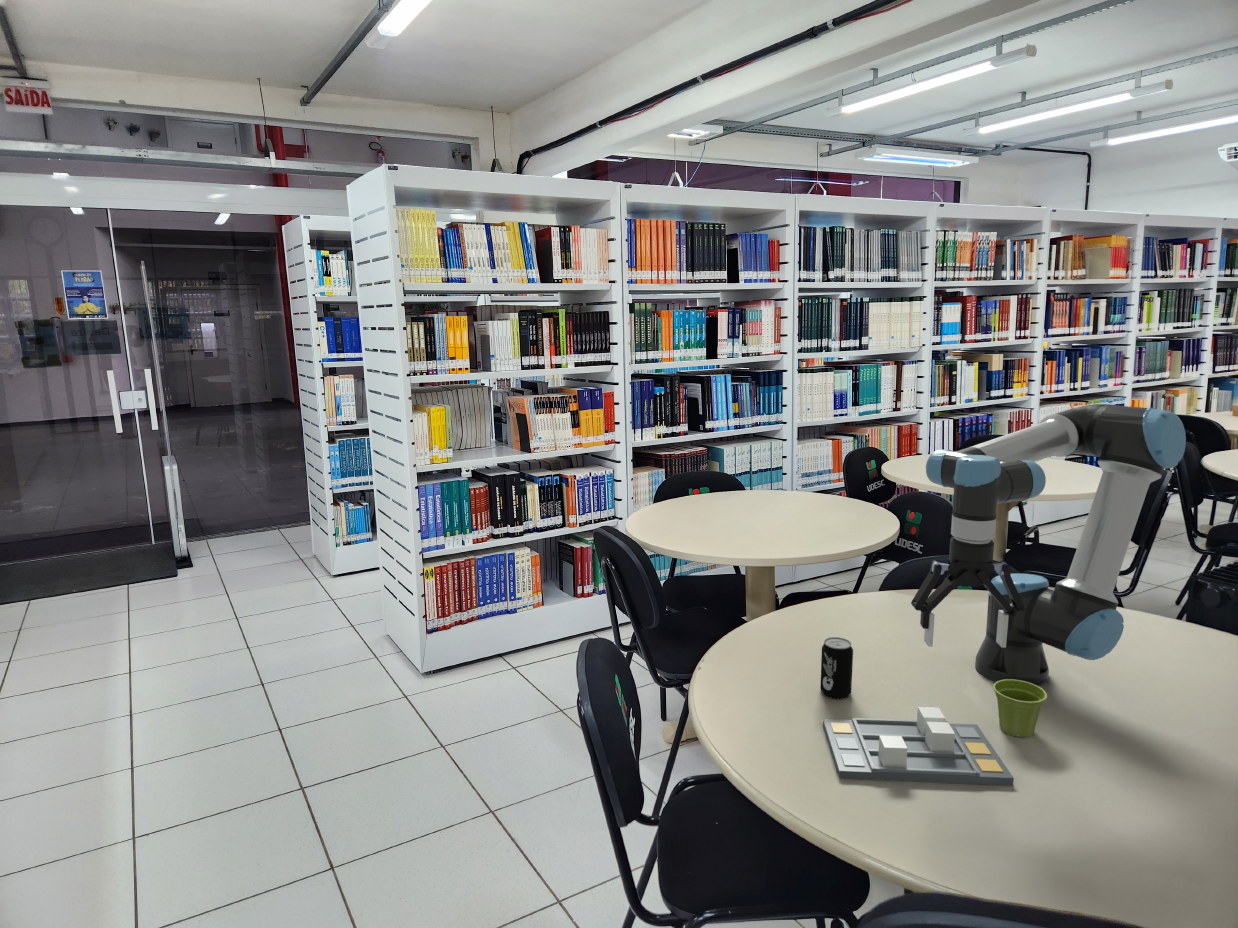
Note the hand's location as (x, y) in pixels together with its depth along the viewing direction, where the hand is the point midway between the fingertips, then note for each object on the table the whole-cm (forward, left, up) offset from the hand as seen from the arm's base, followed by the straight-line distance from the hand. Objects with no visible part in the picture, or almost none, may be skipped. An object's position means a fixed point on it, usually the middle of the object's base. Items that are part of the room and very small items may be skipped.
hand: (964, 644), depth 147 cm
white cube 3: (+16, +13, -18) cm, 27 cm away
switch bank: (+11, +7, -19) cm, 23 cm away
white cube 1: (+6, +1, -18) cm, 19 cm away
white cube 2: (+6, +7, -18) cm, 20 cm away
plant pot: (-12, -3, -20) cm, 23 cm away
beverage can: (+21, -16, -20) cm, 33 cm away
